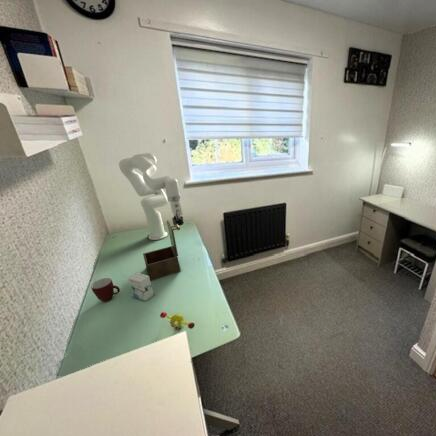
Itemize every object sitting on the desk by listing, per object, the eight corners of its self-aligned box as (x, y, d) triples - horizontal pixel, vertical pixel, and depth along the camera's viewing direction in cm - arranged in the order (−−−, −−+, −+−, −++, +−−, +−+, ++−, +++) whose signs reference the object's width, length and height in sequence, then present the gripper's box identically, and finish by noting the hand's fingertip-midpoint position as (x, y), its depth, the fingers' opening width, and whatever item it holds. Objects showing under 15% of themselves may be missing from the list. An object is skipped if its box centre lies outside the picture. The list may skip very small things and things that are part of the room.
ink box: (133, 296, 120) (127, 278, 115) (142, 290, 124) (136, 272, 119) (146, 301, 117) (140, 282, 112) (154, 294, 121) (149, 275, 117)
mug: (124, 291, 123) (119, 275, 119) (120, 301, 116) (114, 285, 112) (100, 295, 120) (94, 279, 116) (94, 306, 113) (87, 290, 109)
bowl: (172, 223, 159) (171, 217, 157) (182, 221, 163) (181, 215, 161) (174, 227, 154) (173, 220, 152) (185, 224, 158) (184, 218, 156)
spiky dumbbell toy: (157, 326, 103) (154, 314, 101) (167, 317, 108) (164, 305, 105) (190, 339, 98) (187, 327, 95) (199, 329, 102) (197, 317, 100)
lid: (171, 230, 129) (181, 228, 131) (166, 220, 140) (175, 219, 143) (176, 256, 135) (186, 253, 138) (171, 245, 146) (180, 243, 149)
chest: (150, 280, 131) (145, 265, 127) (146, 267, 142) (142, 253, 138) (180, 271, 140) (177, 256, 136) (175, 259, 151) (172, 245, 147)
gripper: (183, 200, 146) (187, 226, 154) (177, 193, 159) (181, 217, 166) (170, 203, 142) (175, 229, 150) (165, 195, 155) (169, 219, 162)
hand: (178, 222), depth 158 cm, fingers closed on bowl, 6 cm apart
